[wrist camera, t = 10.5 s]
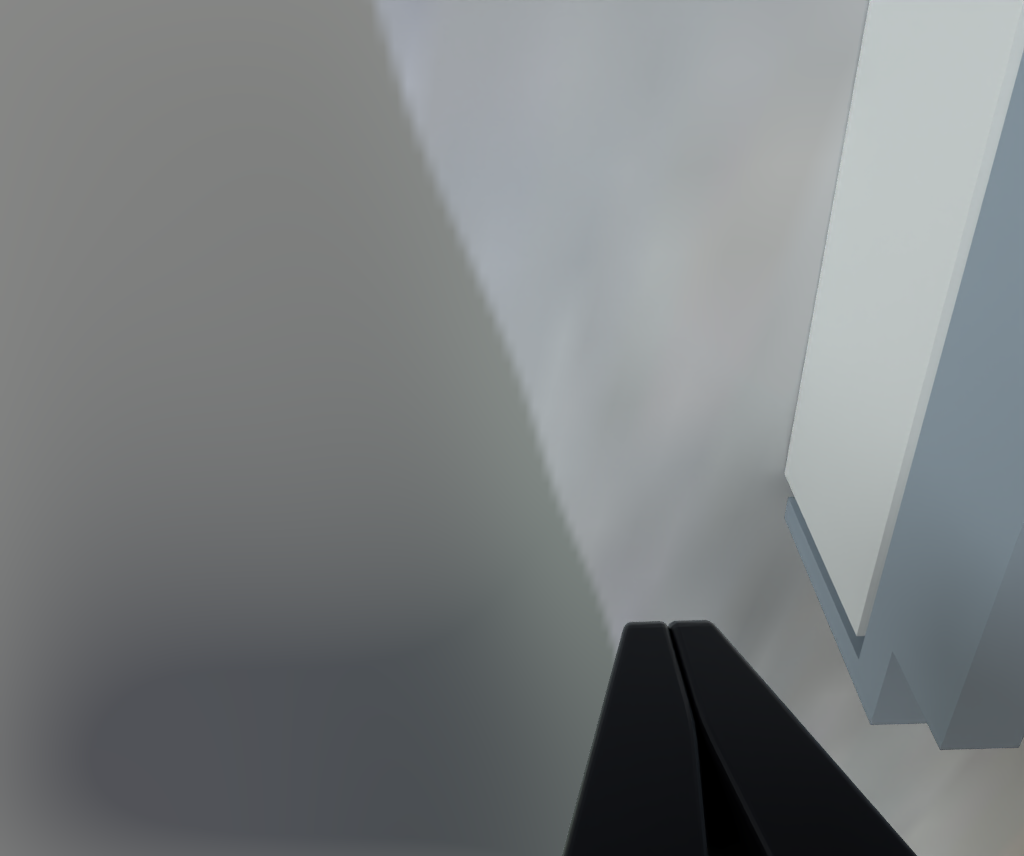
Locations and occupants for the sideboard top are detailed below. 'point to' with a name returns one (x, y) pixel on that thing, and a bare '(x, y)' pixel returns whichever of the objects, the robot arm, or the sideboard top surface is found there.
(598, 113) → the sideboard top surface
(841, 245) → the housing
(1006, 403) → the cabinet
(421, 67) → the sideboard top surface
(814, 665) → the sideboard top surface
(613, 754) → the robot arm
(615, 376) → the sideboard top surface
